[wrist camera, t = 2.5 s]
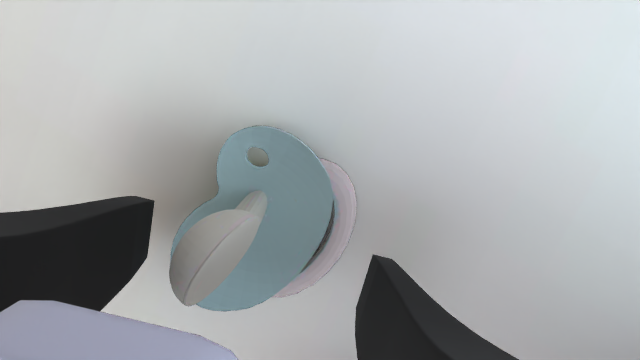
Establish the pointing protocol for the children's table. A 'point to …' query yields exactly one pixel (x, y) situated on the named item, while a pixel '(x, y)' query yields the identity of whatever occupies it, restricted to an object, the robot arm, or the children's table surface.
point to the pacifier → (262, 225)
